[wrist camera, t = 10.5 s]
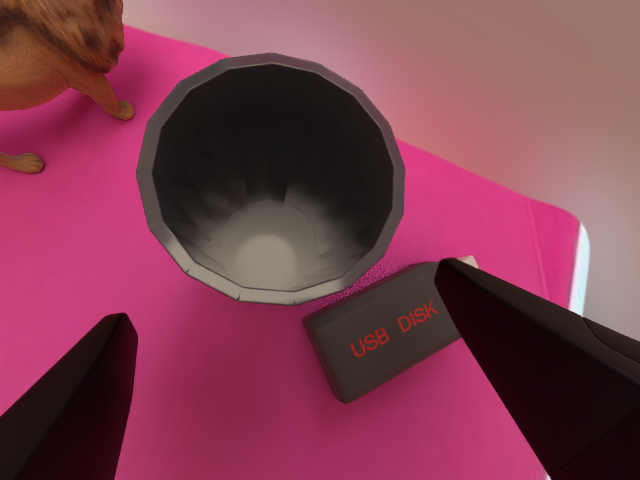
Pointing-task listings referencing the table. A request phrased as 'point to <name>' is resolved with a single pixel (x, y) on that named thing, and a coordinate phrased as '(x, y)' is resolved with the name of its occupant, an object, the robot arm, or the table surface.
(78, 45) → the lion figurine
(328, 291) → the pen pot
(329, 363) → the usb drive
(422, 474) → the table surface
